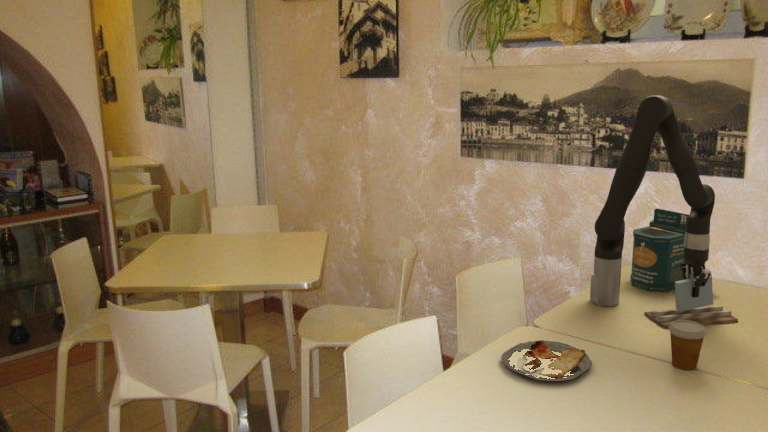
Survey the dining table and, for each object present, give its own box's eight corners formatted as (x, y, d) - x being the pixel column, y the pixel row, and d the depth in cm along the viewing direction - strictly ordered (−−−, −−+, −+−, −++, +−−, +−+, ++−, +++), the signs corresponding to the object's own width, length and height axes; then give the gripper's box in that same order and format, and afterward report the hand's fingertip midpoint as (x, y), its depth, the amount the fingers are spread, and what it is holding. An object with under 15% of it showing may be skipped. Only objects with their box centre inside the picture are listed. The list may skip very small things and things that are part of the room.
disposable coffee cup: (700, 360, 184) (704, 321, 181) (705, 375, 175) (708, 334, 172) (664, 356, 187) (667, 317, 184) (667, 370, 178) (670, 330, 175)
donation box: (685, 286, 245) (691, 215, 238) (658, 294, 237) (663, 221, 230) (649, 275, 258) (654, 207, 252) (622, 282, 250) (627, 213, 244)
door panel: (679, 311, 211) (678, 283, 209) (676, 309, 213) (674, 281, 211) (712, 304, 213) (712, 276, 210) (709, 302, 215) (708, 274, 212)
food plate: (535, 339, 200) (535, 329, 199) (605, 362, 184) (605, 351, 183) (487, 368, 183) (487, 357, 182) (560, 397, 167) (560, 384, 166)
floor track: (664, 328, 206) (664, 321, 206) (644, 314, 218) (644, 307, 217) (737, 322, 210) (738, 315, 209) (714, 309, 221) (714, 302, 221)
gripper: (673, 241, 214) (670, 290, 218) (698, 252, 201) (695, 304, 205) (694, 239, 215) (690, 288, 219) (720, 250, 202) (716, 302, 206)
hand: (692, 295), depth 212 cm, fingers closed on door panel, 2 cm apart
